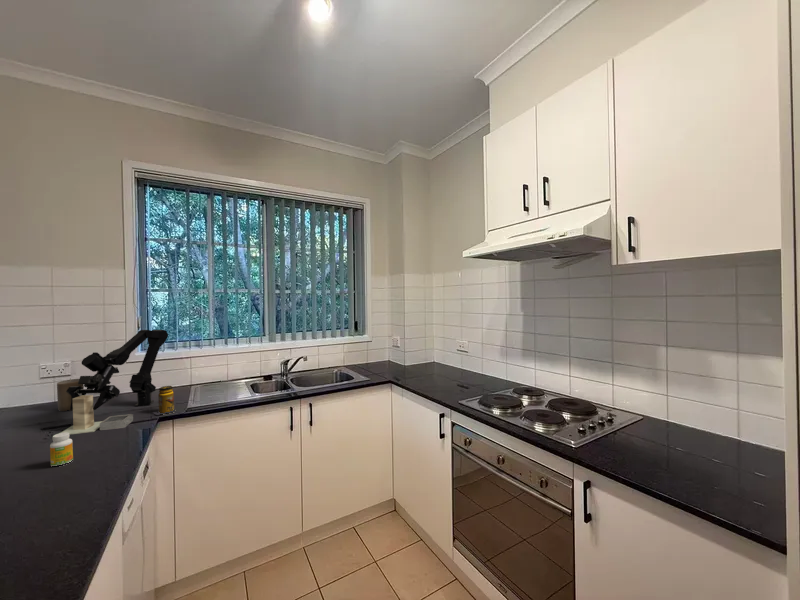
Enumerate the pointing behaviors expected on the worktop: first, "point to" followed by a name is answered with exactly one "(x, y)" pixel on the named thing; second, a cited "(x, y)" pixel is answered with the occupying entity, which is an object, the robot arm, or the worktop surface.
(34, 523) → the worktop surface
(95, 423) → the mat
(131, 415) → the collar
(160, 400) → the condiment
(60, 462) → the supplement bottle
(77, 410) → the block
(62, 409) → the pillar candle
